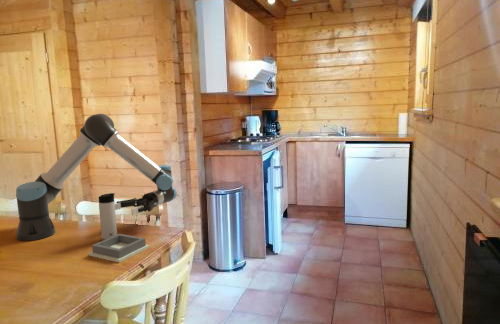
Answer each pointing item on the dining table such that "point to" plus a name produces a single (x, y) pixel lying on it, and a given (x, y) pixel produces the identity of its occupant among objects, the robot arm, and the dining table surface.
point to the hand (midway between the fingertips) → (120, 210)
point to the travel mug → (107, 216)
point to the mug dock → (118, 247)
